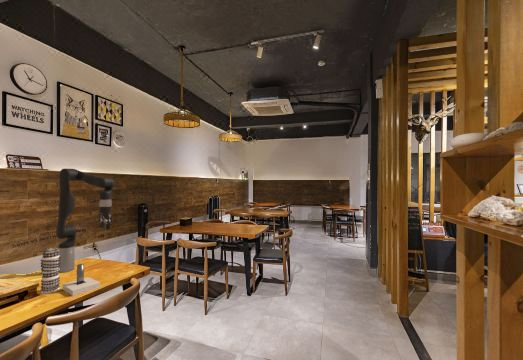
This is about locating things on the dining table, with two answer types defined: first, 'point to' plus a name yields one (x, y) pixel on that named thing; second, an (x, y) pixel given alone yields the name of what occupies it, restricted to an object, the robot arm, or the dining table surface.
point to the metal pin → (80, 274)
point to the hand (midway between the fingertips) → (105, 228)
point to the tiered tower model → (50, 270)
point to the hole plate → (80, 286)
